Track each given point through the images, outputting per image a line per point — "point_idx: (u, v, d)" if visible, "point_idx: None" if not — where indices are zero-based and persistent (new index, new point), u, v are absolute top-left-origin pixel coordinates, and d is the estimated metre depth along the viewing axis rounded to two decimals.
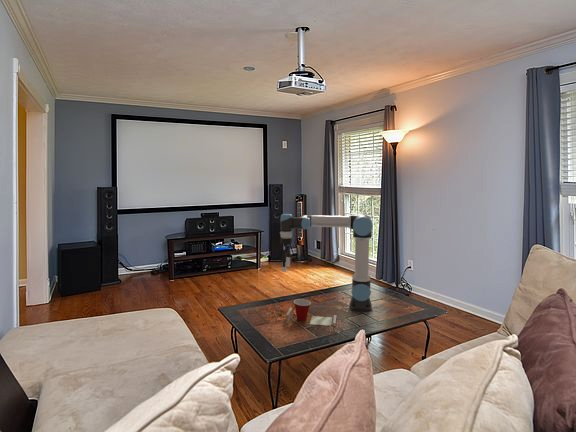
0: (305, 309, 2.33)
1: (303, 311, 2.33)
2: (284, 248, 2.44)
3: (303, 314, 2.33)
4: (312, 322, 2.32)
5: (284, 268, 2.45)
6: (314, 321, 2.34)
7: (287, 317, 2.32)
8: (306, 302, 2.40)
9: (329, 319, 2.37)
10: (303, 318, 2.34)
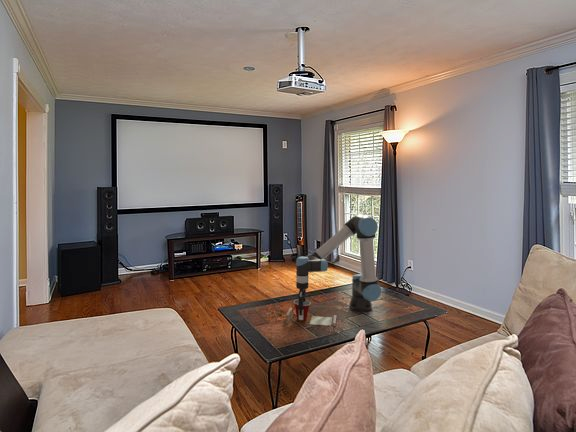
0: (305, 309, 2.33)
1: (303, 311, 2.33)
2: (300, 295, 2.29)
3: (303, 314, 2.33)
4: (312, 322, 2.32)
5: (301, 316, 2.32)
6: (314, 321, 2.34)
7: (287, 317, 2.32)
8: (306, 302, 2.40)
9: (329, 319, 2.37)
10: (303, 318, 2.34)
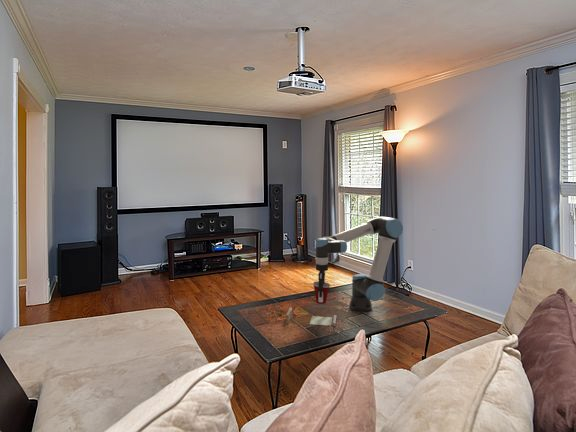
0: (325, 291, 2.29)
1: (323, 293, 2.29)
2: (321, 277, 2.25)
3: (323, 296, 2.30)
4: (312, 322, 2.32)
5: (321, 298, 2.28)
6: (314, 321, 2.34)
7: (287, 317, 2.32)
8: (325, 284, 2.36)
9: (329, 319, 2.37)
10: (323, 300, 2.31)
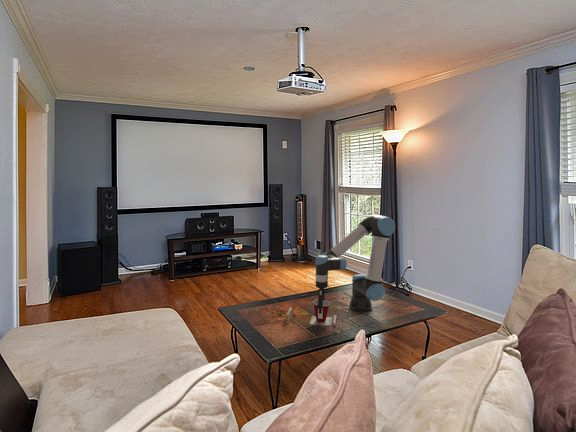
0: (325, 310, 2.31)
1: (323, 312, 2.31)
2: (320, 293, 2.26)
3: (323, 315, 2.31)
4: (312, 322, 2.32)
5: (320, 315, 2.27)
6: (314, 321, 2.34)
7: (287, 317, 2.32)
8: (325, 303, 2.38)
9: (329, 319, 2.37)
10: (322, 319, 2.32)
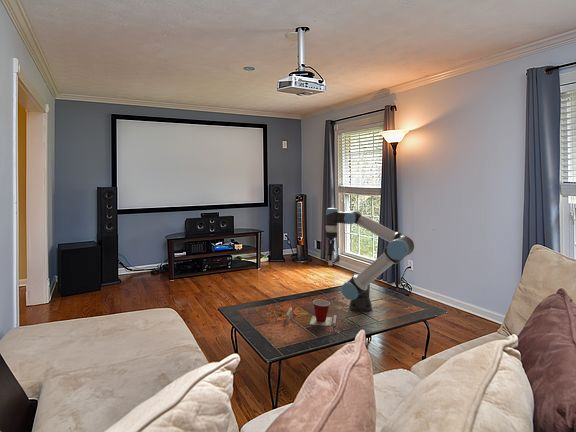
0: (325, 310, 2.31)
1: (323, 312, 2.31)
2: (330, 242, 2.45)
3: (323, 315, 2.31)
4: (312, 322, 2.32)
5: (330, 262, 2.46)
6: (314, 321, 2.34)
7: (287, 317, 2.32)
8: (325, 303, 2.38)
9: (329, 319, 2.37)
10: (322, 319, 2.32)
